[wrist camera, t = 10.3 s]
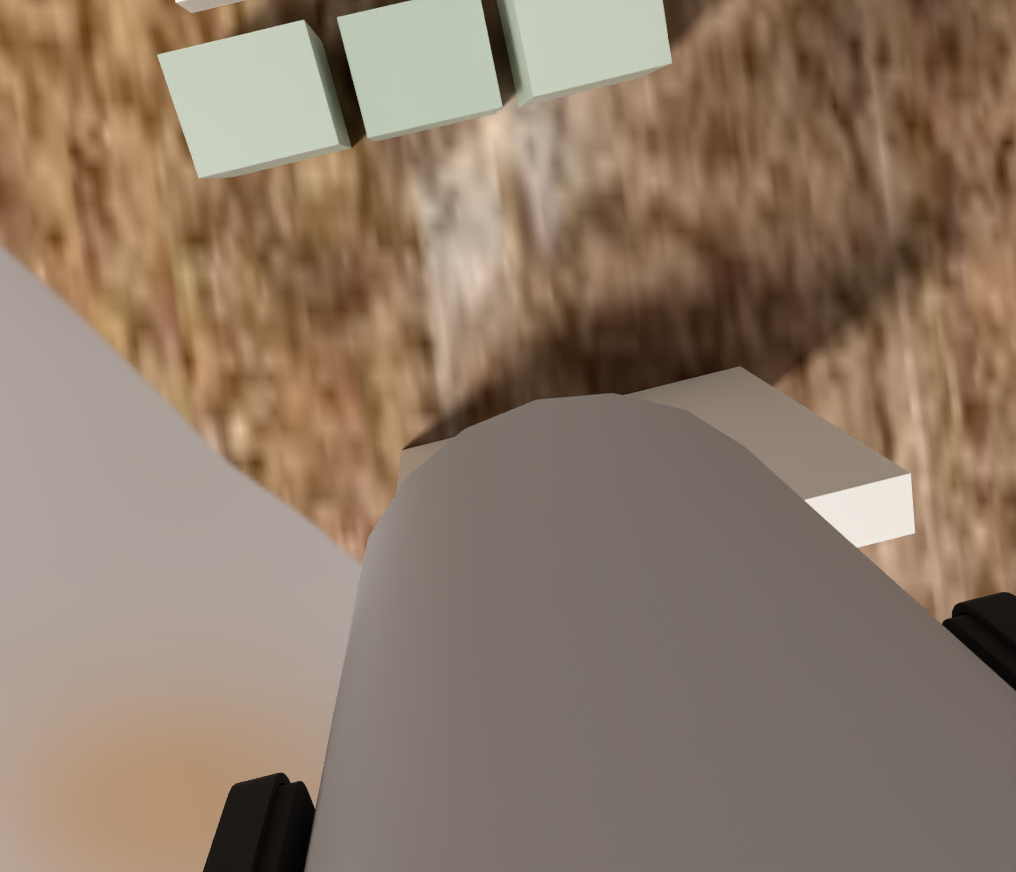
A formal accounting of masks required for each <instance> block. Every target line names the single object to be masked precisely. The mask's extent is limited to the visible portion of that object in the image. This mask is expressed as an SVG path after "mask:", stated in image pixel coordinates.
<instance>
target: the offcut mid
mask: <svg viewBox="0 0 1016 872" xmlns="http://www.w3.org/2000/svg"><path fill="white" fill-rule="evenodd" d="M337 20H338V24H339V28H340V32H341V36H342V40H343V44H344V48H345V52H346V55H347V59H348V63H349V67H350V71H351V75H352V79H353V83H354V86H355V90H356V94H357V98H358V102H359V106H360V110H361V114H362V118H363V121H364V125H365V129H366V133H367V137H368V138H369V139H371V140H373V141H375V142H376V141H380V140H384V139H389V138H393V137H397V136H402V135H406V134H411V133H415V132H419V131H424V130H428V129H432V128H437V127H441V126H445V125H450V124H454V123H459V122H463V121H467V120H472V119H476V118H480V117H485V116H489V115H493V114H496V113H497V112H498V111H499V110H500V109H501V108H502V107H503V106H502V101H501V96H500V92H499V87H498V82H497V77H496V72H495V67H494V62H493V57H492V52H491V47H490V42H489V38H488V33H487V28H486V23H485V18H484V13H483V8H482V3H481V0H411V1H406V2H402V3H397V4H393V5H388V6H384V7H380V8H375V9H371V10H366V11H362V12H358V13H353V14H349V15H344V16H340V17H337Z"/></svg>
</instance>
